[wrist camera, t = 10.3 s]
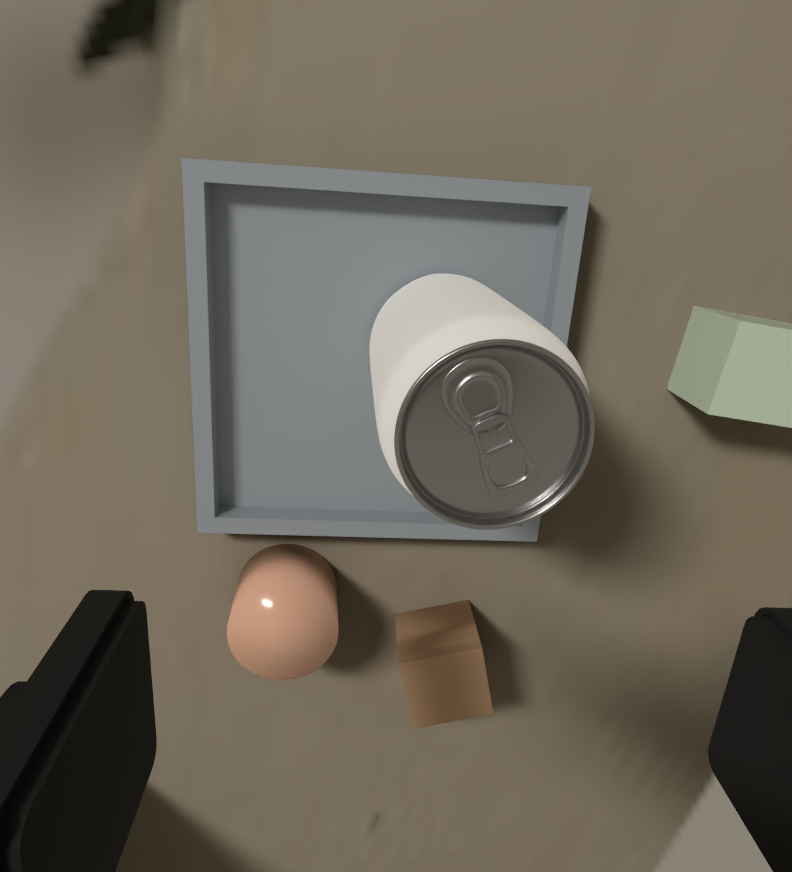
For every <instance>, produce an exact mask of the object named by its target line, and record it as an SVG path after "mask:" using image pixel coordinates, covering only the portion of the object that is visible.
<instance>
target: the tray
mask: <svg viewBox="0 0 792 872" xmlns="http://www.w3.org/2000/svg"><path fill="white" fill-rule="evenodd" d="M182 179H183V202H184V226H185V250H186V273H187V297H188V321H189V344H190V368H191V392H192V415H193V439H194V462H195V486H196V510H197V533H226V534H264V535H302V536H340V537H378V538H416V539H454V540H492V541H530V542H537V538H538V532H539V525H540V519H541V516H539V517H537V518H535V519H533V520H531V521H529V522H526V523H524V524H520V525H517V526H514V527H509V528H503V529H494V530H481V529H472V528H466V527H462V526H458V525H455V524H452V523H450V522H447V521H445V520H443V519H441V518H439V517H437V516H436V515H434V514H433V513H431V512H430V511H429V510H427V509H426V508H425V507H424V506H423V505H421V504H420V503H419V502H418V501H417V499H416V498H415V497H414V496H413V495H412V494H410V493H409V492H408V491H407V490H406V489H405V488H404V487H403V486H402V485H401V483H400V482H399V481H398V480H397V478H396V477H395V476H394V474H393V472H392V471H391V469H390V467H389V465H388V463H387V461H386V459H385V457H384V454H383V451H382V448H381V445H380V441H379V436H378V431H377V424H376V416H375V408H374V399H373V389H372V379H371V369H370V356H369V345H370V336H371V332H372V328H373V325H374V322H375V320H376V317H377V315H378V313H379V312H380V310H381V308H382V307H383V305H384V304H385V303H386V301H387V300H388V299H389V298H390V297H391V296H392V295H393V294H394V293H396V292H397V291H398V290H400V289H401V288H402V287H404V286H405V285H407V284H408V283H410V282H412V281H414V280H416V279H418V278H421V277H423V276H427V275H431V274H438V273H445V274H456V275H461V276H465V277H468V278H471V279H473V280H476V281H478V282H480V283H481V284H483V285H485V286H487V287H488V288H490V289H491V290H493V291H494V292H496V293H497V294H499V295H500V296H502V297H503V298H504V299H506V300H507V301H509V302H510V303H512V304H513V305H515V306H516V307H517V308H519V309H520V310H522V311H523V312H525V313H526V314H527V315H529V316H530V317H532V318H533V319H534V320H536V321H537V322H539V323H540V324H541V325H543V326H544V327H545V328H547V329H548V330H549V331H550V332H552V333H553V334H554V335H555V336H556V337H557V338H559V339H560V340H561V341H562V342H563V343H564V344H565V346H566V347H567V342H568V336H569V329H570V323H571V316H572V310H573V303H574V296H575V290H576V283H577V277H578V270H579V264H580V257H581V251H582V244H583V238H584V231H585V225H586V218H587V211H588V205H589V198H590V192H591V187H585V186H571V185H556V184H542V183H528V182H514V181H500V180H486V179H471V178H457V177H443V176H429V175H415V174H401V173H386V172H372V171H358V170H344V169H330V168H316V167H301V166H287V165H273V164H259V163H245V162H231V161H216V160H202V159H188V158H182Z"/></svg>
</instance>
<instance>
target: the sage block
mask: <svg viewBox="0 0 792 872" xmlns="http://www.w3.org/2000/svg"><path fill="white" fill-rule="evenodd" d="M667 389H668V390H669V391H671V392H672V393H674V394H676V395H677V396H679V397H681V398H682V399H684V400H685V401H687V402H689V403H690V404H692V405H693V406H695V407H697V408H698V409H700V410H702V411H703V412H705V413H706V414H709V415H715V416H722V417H728V418H734V419H740V420H746V421H752V422H758V423H765V424H771V425H777V426H783V427H789V428H792V324H791V323H786V322H780V321H775V320H769V319H764V318H759V317H753V316H748V315H742V314H737V313H731V312H726V311H720V310H715V309H710V308H704V307H699V306H694V307H693V310H692V313H691V316H690V319H689V323H688V326H687V329H686V332H685V335H684V338H683V341H682V344H681V347H680V350H679V353H678V356H677V359H676V362H675V365H674V368H673V371H672V374H671V377H670V380H669V384H668V387H667Z"/></svg>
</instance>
